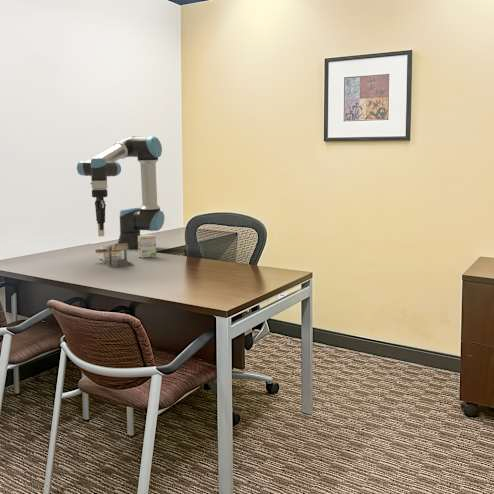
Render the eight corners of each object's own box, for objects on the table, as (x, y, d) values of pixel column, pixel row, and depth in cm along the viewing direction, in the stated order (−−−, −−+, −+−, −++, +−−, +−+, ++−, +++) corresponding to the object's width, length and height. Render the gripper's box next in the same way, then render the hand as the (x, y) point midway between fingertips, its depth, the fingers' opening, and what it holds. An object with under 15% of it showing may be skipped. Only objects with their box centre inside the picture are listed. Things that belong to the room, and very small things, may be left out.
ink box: (152, 255, 305) (152, 234, 303) (156, 257, 300) (156, 235, 299) (137, 257, 300) (137, 235, 298) (141, 258, 296) (140, 236, 294)
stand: (103, 261, 285) (102, 245, 284) (124, 260, 290) (124, 244, 289) (111, 267, 270) (111, 250, 269) (134, 265, 275) (133, 248, 274)
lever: (95, 253, 284) (95, 247, 284) (118, 251, 289) (118, 245, 289) (103, 250, 268) (103, 244, 268) (128, 249, 273) (127, 243, 273)
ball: (113, 258, 294) (113, 252, 295) (115, 256, 291) (114, 250, 292) (107, 259, 293) (106, 252, 294) (108, 257, 290) (107, 250, 291)
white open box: (116, 256, 300) (116, 245, 299) (122, 260, 291) (121, 248, 290) (99, 258, 296) (99, 246, 295) (104, 261, 287) (103, 249, 286)
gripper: (88, 188, 282) (90, 234, 286) (94, 190, 271) (96, 238, 275) (103, 188, 286) (105, 234, 290) (110, 189, 274) (112, 237, 278)
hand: (101, 236), depth 282 cm, fingers closed
